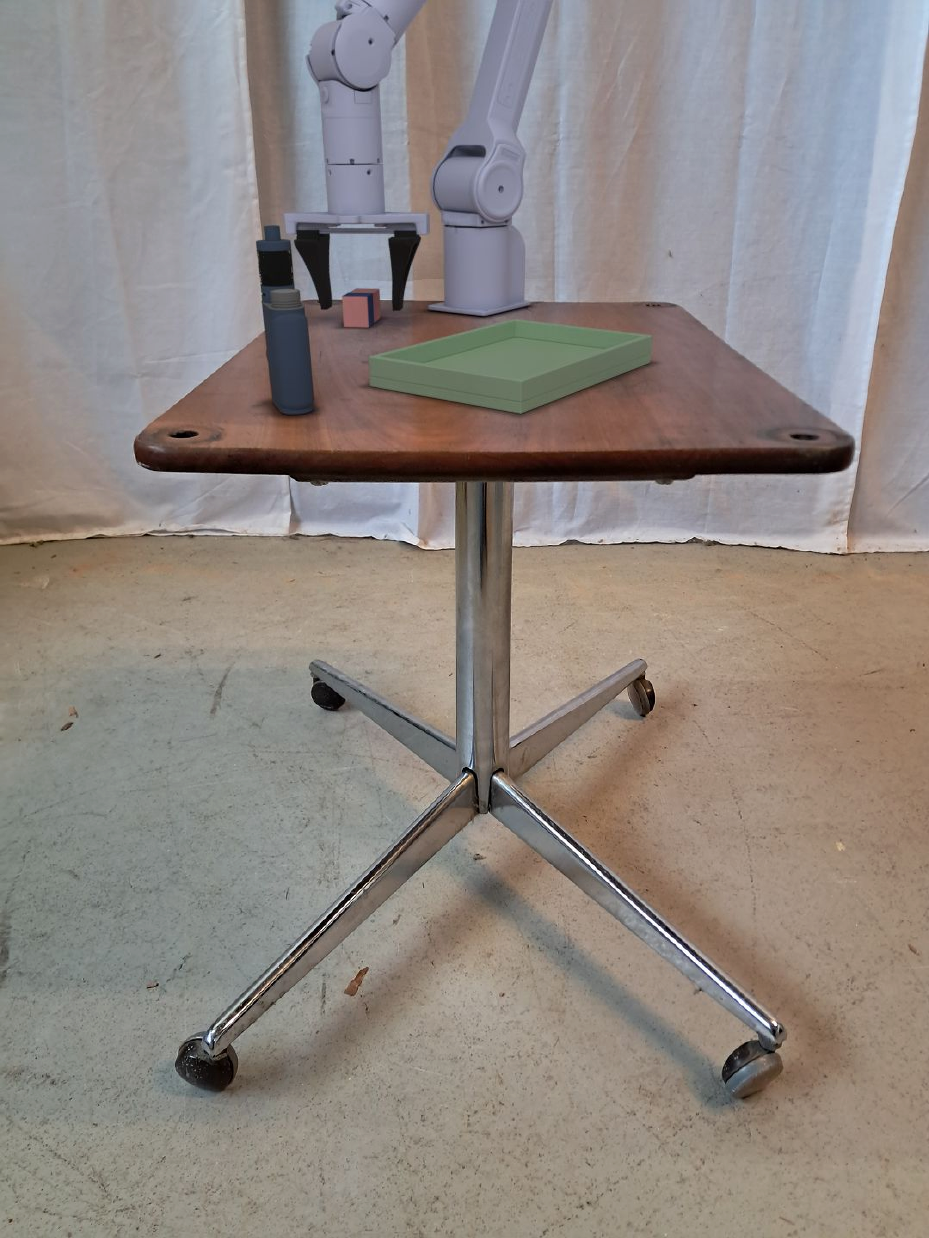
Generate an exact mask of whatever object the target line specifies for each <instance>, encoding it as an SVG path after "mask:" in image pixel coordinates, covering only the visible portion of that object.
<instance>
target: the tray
mask: <svg viewBox="0 0 929 1238" xmlns="http://www.w3.org/2000/svg"><path fill="white" fill-rule="evenodd" d="M652 346H653V335H652V334H643V333H636V332H627V331H619V330H610V329H602V328H594V327H585V326H575V325H568V324H561V323H552V322H543V321H534V320H525V319H517V318H513V319H509V320H505V321H504V320H503V321H501V322H500V321H499V322H497V323H493V324H489V325H485V326H481V327H478V328H474V329H473V328H472V329H471V330H466V331H462V332H458V333H454V334H450V335H447V336H441V337H439V338H435V339H431V340H427V341H423V342H419V343H416V344H412V345H407V346H404V347H399V348H397V349H393V350H389V351H385V352H382V353H378V354H373V355H370V356H368V370H369V373H368V374H369V387H373V388H378V389H383V390H389V391H393V392H394V391H395V392H400V393H404V394H405V393H406V394H409V395H416V396H420V397H421V396H422V397H427V398H432V399H438V400H443V401H449V402H455V403H460V404H466V405H470V406H475V407H481V408H487V409H492V410H498V411H504V412H508V413H515V414H520V415H521V414H524V413H526V412H529V411H531V410H534V409H536V408H539V407H541V406H543V405H546V404H550V403H552V402H554V401H557V400H559V399H562V398H564V397H568V396H570V395H572V394H574V393H577V392H579V391H583V390H585V389H587V388H590V387H592V386H594V385H597V384H600V383H602V382H605V381H607V380H610V379H612V378H615V377H618V376H620V375H623V374H625V373H628V372H630V371H632V370H635V369H638V368H640V367H643V366H645V365H648V364H650V363H651V358H652Z"/></svg>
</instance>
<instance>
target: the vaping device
mask: <svg viewBox="0 0 929 1238" xmlns="http://www.w3.org/2000/svg"><path fill="white" fill-rule="evenodd" d="M263 231H264V239H258V240H256V241H255V247H256V248H255V249H256V256H257V265H258V266H257V267H258V276H259V282H260V283H259V284H260V293H261V301H260V302H261V308H262V309H261V310H262V317H263V327H264V335H265V336H264V337H265V338H264V339H265V346H266V347H265V348H266V349H265V356H266V360H267V365H268V374H269V375H268V376H269V384H270V395H271V402H272V404H273V405H274V406H275V407H276V408H277V409H278V411H279V413H282V414H283V415H289V416H297V415H305V414H308V413H311V412H313V410H314V405H313V404H314V401H315V392H314V380H313V368H312V367H313V366H312V359H311V358H312V356H311V355H312V354H311V345H310V331H309V320H308V317H307V316H306V310H305V309H306V306H305V305H304V304H303V303H302V299H301V290H300V289H297V288H296V287H295V286H296V285H295V275H294V265H293V264H294V263H293V253H292V241H291V239H286V238H282V236H281V226H280V225H273V224H272V225H270V224H269V225H263Z"/></svg>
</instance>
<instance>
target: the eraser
mask: <svg viewBox="0 0 929 1238" xmlns="http://www.w3.org/2000/svg"><path fill="white" fill-rule="evenodd" d="M380 291H381V290H380V288H366V287H365V288H362V287H361V288H358V287H356V288H355V289H352V290H351V291H349V292H347V293H344V294H343V295H342V296H341V300H342V317H343V328H357V329H359V328H361V329H363V328H364V329H369V328H371V327H372V326H373V325H375V323H376V322H378V320H380V319H381V317H382V313H381V292H380Z"/></svg>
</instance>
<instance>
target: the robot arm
mask: <svg viewBox="0 0 929 1238" xmlns="http://www.w3.org/2000/svg"><path fill="white" fill-rule="evenodd" d="M427 2H428V0H337V2H336V3H335V5H334V10H335V11H336V15H335V17H336V18H335V19H336V20H333V21H328V22H326V23H323V24H322V25H321V26H319V27H318V28H316V30H315V32H314V33H313V35H312V38H311V39H310V44H309V46H311V47H310V49H309V51H308V52H309V53H308V54H306V55H305V65H306V67H307V71H308V72H309V75H310V77H311V78H312V80H313V81H314V83H315V84H316V86H317V89H318V91H319V100H320V102H319V103H320V119H321V131H322V132H321V134H322V147H323V161H324V162H323V163H324V173H325V187H326V188H325V189H326V201H327V211H308V212H306V211H303V212H302V211H300V212H299V211H298V212H297V211H296V212H286V213H284V214H283V217H284V228H285V235H296V236H295V239H294V240H293V244H294V247H295V249H296V251H297V252H298V254H299V256H300V258H301V259H302V261H303V263H304V265H305V267H306V270H307V272H308V274H309V275H310V279H311V280H312V283H313V286H314V289H315V291H316V295H317V298H318V303H319V306H320V310H322V311H323V310H324V311H328V310H329V309H331V308H332V307H333V291H332V283H331V273H330V272H331V271H330V245H331V235H335V234H336V235H339V234H340V235H393V236H391V237H388V238H387V244H388V251H389V258H390V259H389V260H390V267H391V305H392V306H391V307H392V312H399V311H401V310H403V309H404V299H405V292H406V288H407V287H406V286H407V282H408V279H409V275H410V271H411V267H412V264H413V261H414V259H415V256H416V253H417V251H418V248H419V246H420V244H421V240H422V236H427V235H429V234H431V221H430V220H431V219H430V212H413V211H412V212H410V211H409V212H408V211H407V212H406V211H386V201H385V178H384V177H385V176H384V155H383V152H384V151H383V131H382V112H381V111H382V110H381V89H380V88H381V87H380V83H381V82H382V80H383V79H384V78H387V77H388V75H389V73H390V71H391V66H392V56H393V55H392V51H393V50H394V49H395V47H396V46H397V44H398V43H399V41H400V40H401V38H402V37H403V36H404V34H405V33H406V31H407V30H408V28H409V27H410V26H411V24H412V23H413V21H414V20H415V18H416V17H417V16H418V14H419V13H420V12H421V10H422V9H423V8H424V5H425V4H426V3H427ZM553 3H554V0H496V3H495V8H494V12H493V16H492V18H491V19H492V20H491V23H490V27H489V30H488V35H487V39H486V41H485V46H484V50H483V54H482V57H481V61H480V65H479V69H478V73H477V76H476V80H475V84H474V88H473V92H472V95H471V98H470V102H469V107H468V111H467V113H466V114H467V115H466V118H465V120H464V121H463V122H462V123H461V124H460V125H459V127H458V128H457V129H456V130H455V131H454V133H452V135H451V136H450V137H449V139H448V141H447V145H446V148H445V151H444V154H443V155H442V157H441V158H440V160H439V161H438V162H437V163H436V165H435V166H434V168H433V170H432V172H431V175H430V179H429V192H430V198H431V200H432V203H433V205H434V207H435V208H436V209H437V210H438V211H439V213H440V220H441V221H440V222H441V223H442V224H443V225H442V244H443V246H442V247H443V248H442V249H443V252H442V253H443V296H444V297H443V301H442V302H437V303H432V304H429V305H428V307H427V309H428V310H429V311H437V312H438V311H439V312H447V313H454V314H462V315H470V316H479V317H480V316H481V317H487V316H490V315H495V314H500V313H504V312H507V311H511V310H516V309H519V308H524V307H529V306H530V305H531V303H532V302H531V300H526V299H525V283H526V245H525V240H524V237H523V236H522V234H521V232H520V230H519V229H518V228H517V227H516V226H514V225H513V216H514V215H515V214H516V213H517V212H518V210H519V208H520V206H521V204H522V200H523V196H524V187H525V186H524V167H525V162H526V160H527V159H526V158H527V152H526V150H525V147H524V146H523V144H522V143H521V141H520V139H519V137H518V135H517V132H518V129H519V126H520V122H521V118H522V114H523V110H524V107H525V103H526V100H527V97H528V94H529V93H528V92H529V89H530V86H531V82H532V79H533V74H534V71H535V67H536V63H537V61H538V57H539V54H540V49H541V46H542V42H543V39H544V35H545V32H546V29H547V25H548V21H549V17H550V13H551V10H552V6H553ZM341 225H373V227H340V226H341Z"/></svg>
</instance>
